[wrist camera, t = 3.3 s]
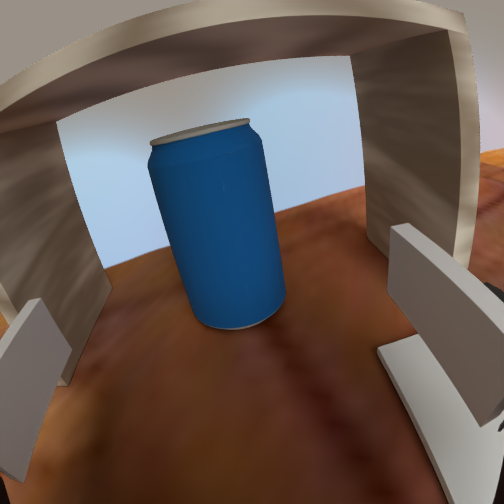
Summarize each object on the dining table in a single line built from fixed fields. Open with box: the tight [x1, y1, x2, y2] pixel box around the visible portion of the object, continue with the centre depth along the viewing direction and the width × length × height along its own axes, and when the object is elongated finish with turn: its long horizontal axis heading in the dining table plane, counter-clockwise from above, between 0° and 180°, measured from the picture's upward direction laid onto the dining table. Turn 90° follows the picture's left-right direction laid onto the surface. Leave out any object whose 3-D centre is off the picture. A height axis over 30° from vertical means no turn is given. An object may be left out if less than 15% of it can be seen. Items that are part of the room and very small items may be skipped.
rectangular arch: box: [0, 0, 480, 386], centre depth 17 cm, size 27×12×17 cm, turn 96°
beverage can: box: [148, 118, 286, 330], centre depth 18 cm, size 6×6×12 cm
